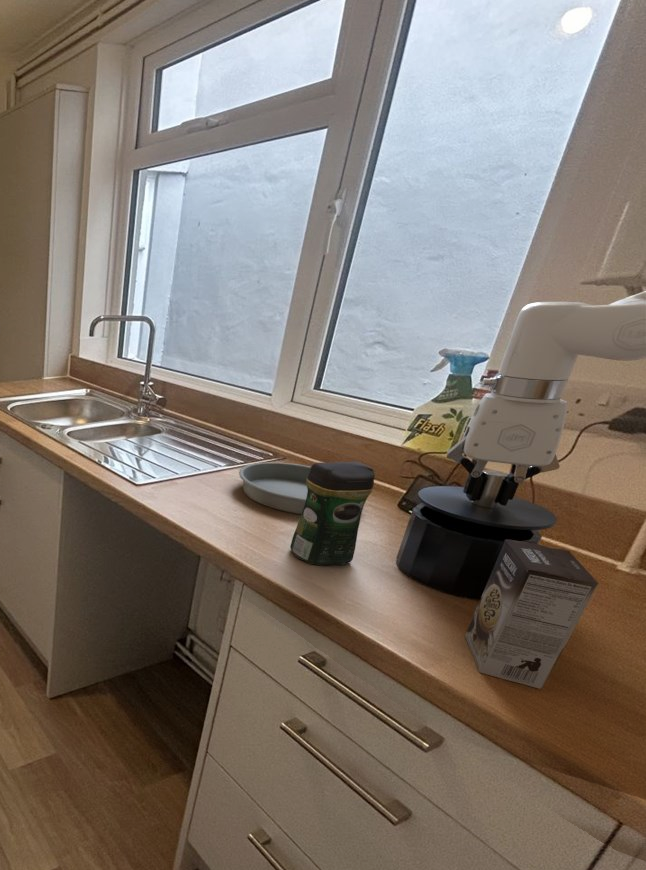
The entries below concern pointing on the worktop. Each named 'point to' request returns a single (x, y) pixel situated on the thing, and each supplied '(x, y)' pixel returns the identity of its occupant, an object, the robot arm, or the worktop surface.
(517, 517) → the bin lid
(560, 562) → the coffee box
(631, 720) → the worktop surface
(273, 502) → the cake pan
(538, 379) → the robot arm
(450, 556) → the bin
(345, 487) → the coffee jar
